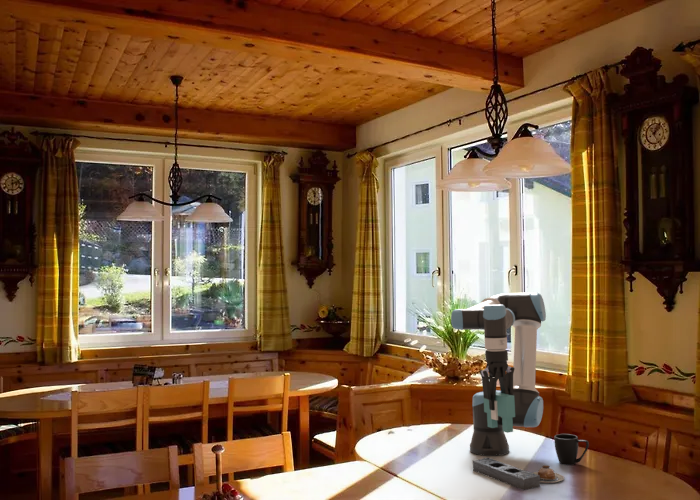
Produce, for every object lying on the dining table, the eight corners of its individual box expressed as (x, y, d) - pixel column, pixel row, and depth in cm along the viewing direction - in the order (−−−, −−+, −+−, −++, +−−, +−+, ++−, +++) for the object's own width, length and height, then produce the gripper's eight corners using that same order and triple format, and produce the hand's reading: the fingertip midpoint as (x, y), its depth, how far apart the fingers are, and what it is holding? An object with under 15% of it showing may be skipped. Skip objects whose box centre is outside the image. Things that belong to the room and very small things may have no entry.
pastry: (559, 487, 210) (558, 473, 211) (522, 482, 217) (522, 468, 217) (568, 477, 221) (567, 463, 221) (533, 472, 227) (532, 459, 227)
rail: (472, 470, 231) (472, 460, 231) (488, 467, 234) (488, 457, 234) (523, 490, 207) (523, 479, 208) (540, 486, 211) (539, 475, 211)
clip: (484, 426, 226) (483, 391, 226) (492, 425, 227) (491, 390, 228) (507, 433, 215) (506, 397, 215) (516, 431, 217) (514, 395, 217)
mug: (585, 468, 228) (584, 441, 228) (552, 464, 235) (550, 437, 236) (592, 463, 234) (591, 436, 235) (560, 458, 242) (558, 432, 242)
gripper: (483, 353, 215) (487, 424, 214) (522, 348, 222) (525, 417, 222) (470, 351, 222) (473, 419, 221) (508, 346, 229) (511, 413, 228)
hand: (499, 418), depth 221 cm, fingers closed on clip, 3 cm apart
